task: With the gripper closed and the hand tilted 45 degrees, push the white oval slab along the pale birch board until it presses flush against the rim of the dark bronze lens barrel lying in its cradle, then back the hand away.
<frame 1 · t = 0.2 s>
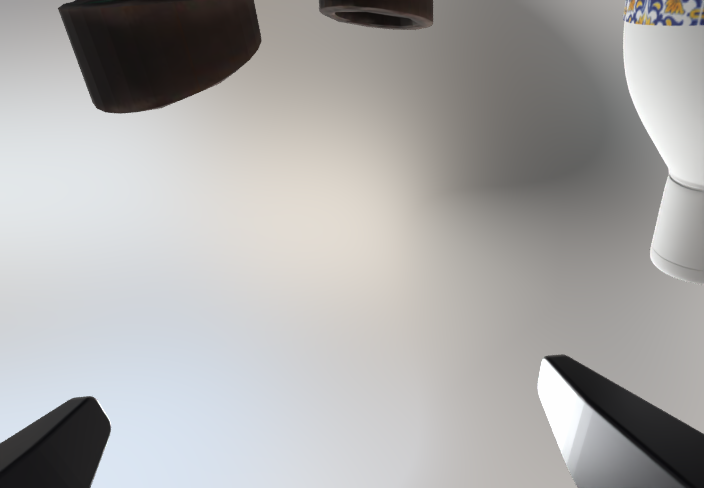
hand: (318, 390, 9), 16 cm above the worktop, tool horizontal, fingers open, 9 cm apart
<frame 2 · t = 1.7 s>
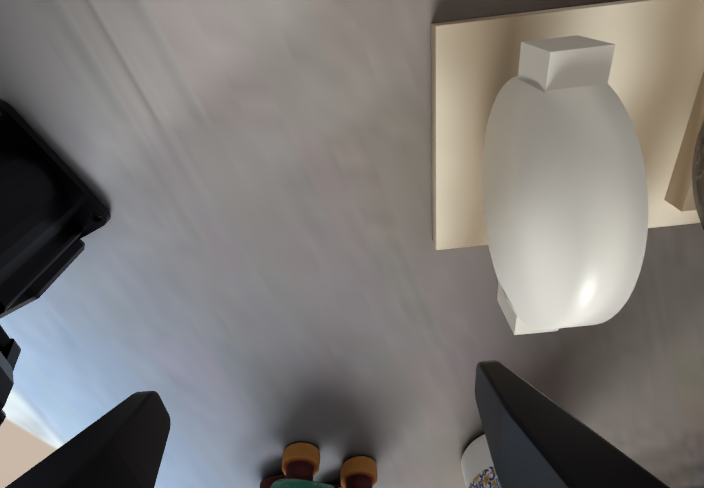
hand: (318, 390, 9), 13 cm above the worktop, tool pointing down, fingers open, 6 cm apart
bath foam: (504, 449, 32), on the worktop
birch board: (621, 125, 19), on the worktop
white oval slab: (542, 203, 14), point 6 cm above the worktop, slide at 7.0 cm
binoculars: (316, 476, 34), on the worktop
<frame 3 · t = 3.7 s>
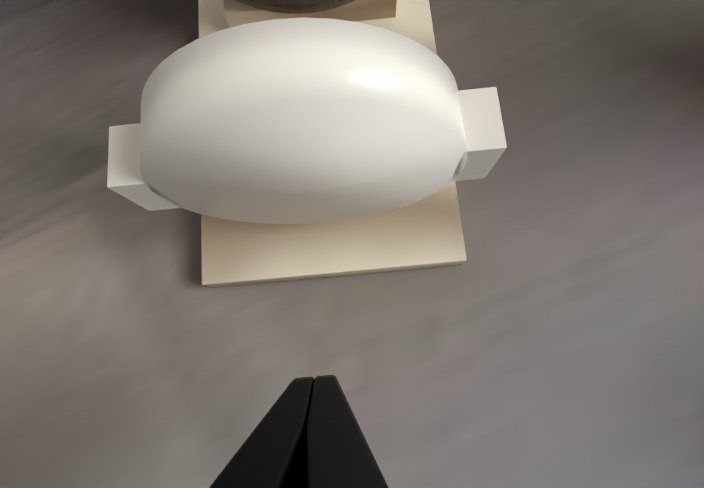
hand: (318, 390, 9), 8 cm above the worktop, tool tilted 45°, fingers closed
birch board: (320, 85, 19), on the worktop
white oval slab: (308, 153, 11), point 6 cm above the worktop, slide at 7.0 cm
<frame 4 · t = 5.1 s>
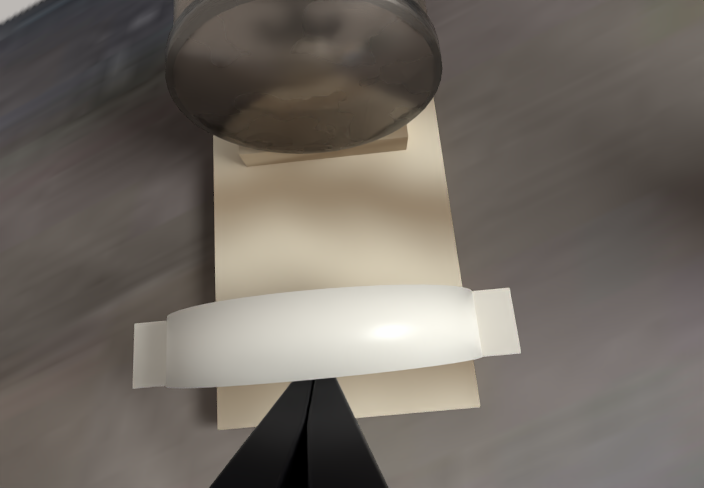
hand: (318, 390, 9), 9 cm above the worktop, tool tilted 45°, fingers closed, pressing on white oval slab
birch board: (332, 213, 19), on the worktop
white oval slab: (326, 338, 12), point 6 cm above the worktop, slide at 6.5 cm, touching gripper
lens barrel: (303, 28, 14), on the birch board, point 6 cm above the worktop
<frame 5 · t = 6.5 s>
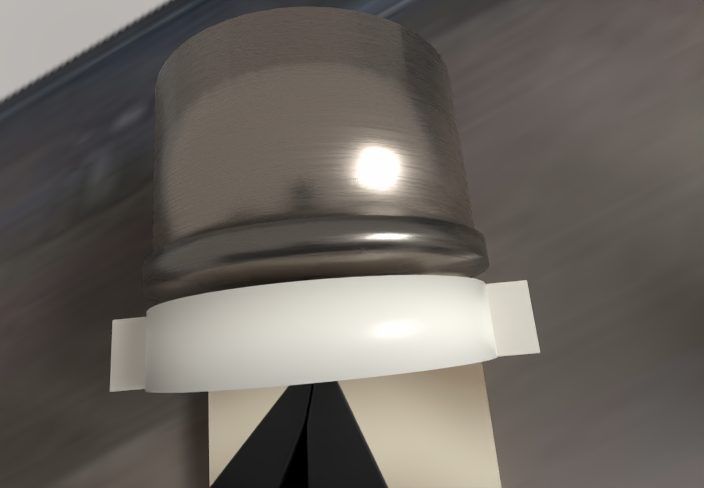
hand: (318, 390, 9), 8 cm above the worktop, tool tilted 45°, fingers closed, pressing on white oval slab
birch board: (344, 359, 17), on the worktop
white oval slab: (324, 336, 11), point 6 cm above the worktop, slide at 0.2 cm, touching gripper
lens barrel: (314, 196, 12), on the birch board, point 6 cm above the worktop
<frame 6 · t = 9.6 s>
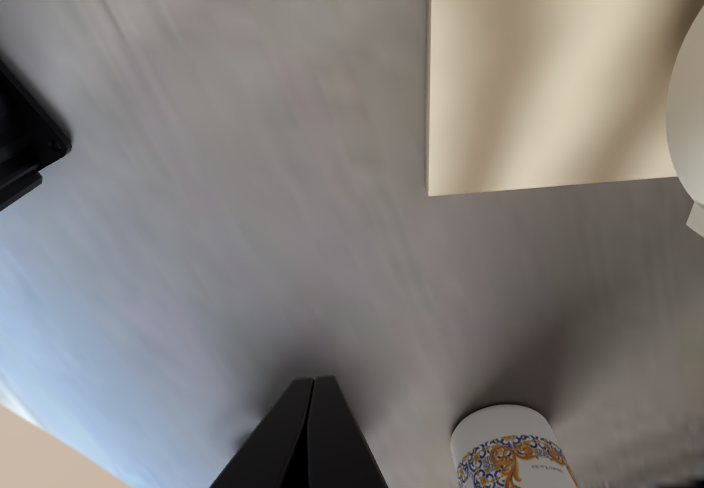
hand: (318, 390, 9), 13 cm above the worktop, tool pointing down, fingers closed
bath foam: (496, 430, 31), on the worktop
birch board: (634, 58, 18), on the worktop
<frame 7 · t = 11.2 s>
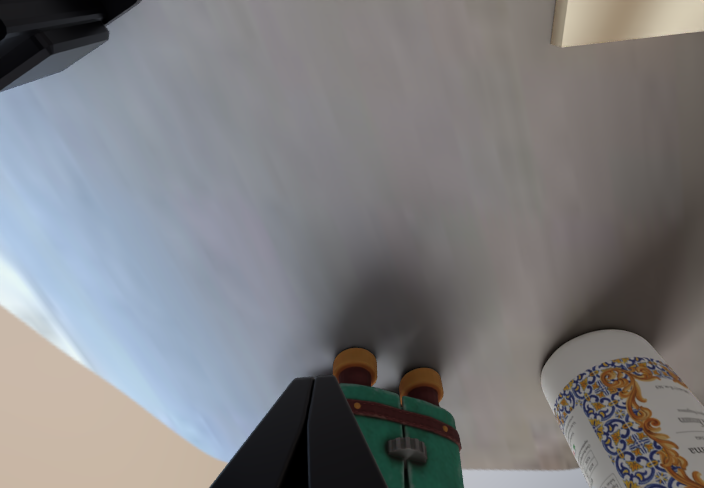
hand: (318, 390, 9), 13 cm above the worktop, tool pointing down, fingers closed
bath foam: (590, 363, 28), on the worktop
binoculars: (368, 397, 29), on the worktop
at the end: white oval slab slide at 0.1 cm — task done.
